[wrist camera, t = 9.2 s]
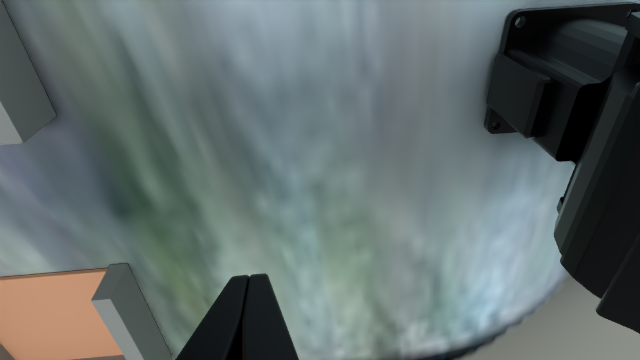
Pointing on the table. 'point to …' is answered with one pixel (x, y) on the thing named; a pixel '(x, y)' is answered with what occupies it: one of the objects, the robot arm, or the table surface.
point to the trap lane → (63, 287)
